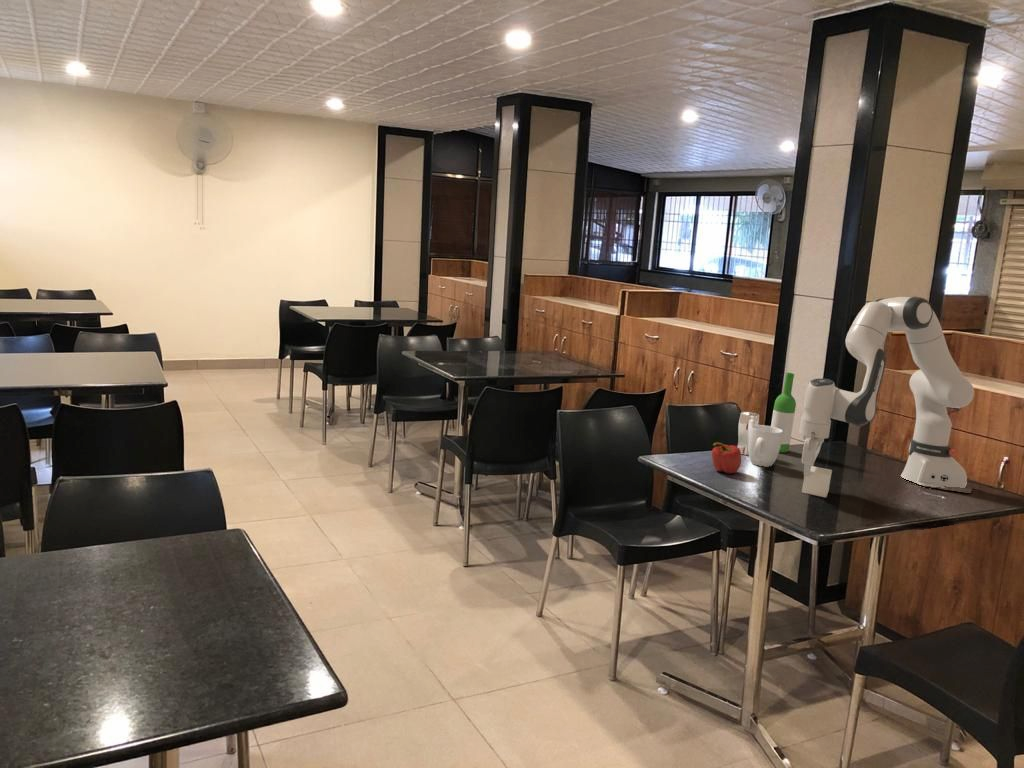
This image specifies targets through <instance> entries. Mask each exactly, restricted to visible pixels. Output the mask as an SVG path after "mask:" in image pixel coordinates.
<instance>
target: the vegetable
mask: <svg viewBox="0 0 1024 768" xmlns="http://www.w3.org/2000/svg"><path fill="white" fill-rule="evenodd" d="M712 446H713V448H712V451H711V457H712V464H713V467H714V468H715V470H716V471H718V472H720V473H721V472H722V473H723V472H724V473H725V474H735V473H737V472H738V471H739V469H740V468H741V466H742V465H741V464H742V454H741V452H740V449H739V448H738V447H737V446H738V445H734V444H733V445H732V444H731V445H728V444H723V443H722V442H718V441H717V442H714V443H713V444H712Z"/></svg>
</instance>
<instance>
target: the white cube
mask: <svg viewBox="0 0 1024 768" xmlns="http://www.w3.org/2000/svg"><path fill="white" fill-rule="evenodd" d="M832 473H833V470H832V469H829V468H823V467H818V466H815V465H813V466H811V470H810V475H809V476H804V475H803V482H802V488H801V493H802V494H807V495H812V496H817V497H822V498H827V497H828V493H829V490H830V485H831V477H832Z"/></svg>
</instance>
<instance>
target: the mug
mask: <svg viewBox="0 0 1024 768" xmlns="http://www.w3.org/2000/svg"><path fill="white" fill-rule="evenodd" d="M782 434H783V431H782V430H781V429H778V428H775V427H771V425H763V424H758V425H752V426H751V428H750V434H749V442H748V452H749V455H748V456H749V461H750V462H751V464H752V463H753V464H752V465H754V464H755V466H757V465H759V466H758V467H761V466H764V467H763V468H770V467H772V465H774V464H775V462H776V461H777V458H778V456H779V453H780V452H779V450H780V446H781V440H782ZM769 466H770V467H769Z"/></svg>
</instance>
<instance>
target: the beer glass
mask: <svg viewBox="0 0 1024 768" xmlns="http://www.w3.org/2000/svg"><path fill="white" fill-rule="evenodd" d="M739 415H740V416H739V420H738V427H737V429H738V430H737V435H738V438H737V439H738V442H737V445H736V446H737V447H738V448H739V449H740V452H741V455H742V454H744V455H743V456H749V452H748V442H749V434H750V428H751V426H752V425H760V424H759V421H760V414H758V413H755V412H750V411H741V412H740V414H739Z"/></svg>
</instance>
